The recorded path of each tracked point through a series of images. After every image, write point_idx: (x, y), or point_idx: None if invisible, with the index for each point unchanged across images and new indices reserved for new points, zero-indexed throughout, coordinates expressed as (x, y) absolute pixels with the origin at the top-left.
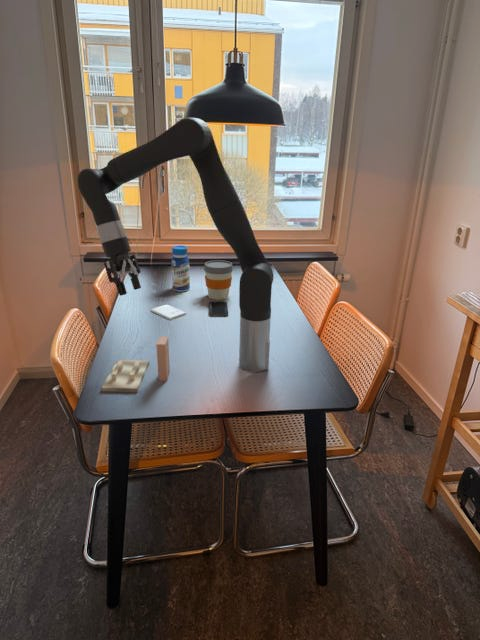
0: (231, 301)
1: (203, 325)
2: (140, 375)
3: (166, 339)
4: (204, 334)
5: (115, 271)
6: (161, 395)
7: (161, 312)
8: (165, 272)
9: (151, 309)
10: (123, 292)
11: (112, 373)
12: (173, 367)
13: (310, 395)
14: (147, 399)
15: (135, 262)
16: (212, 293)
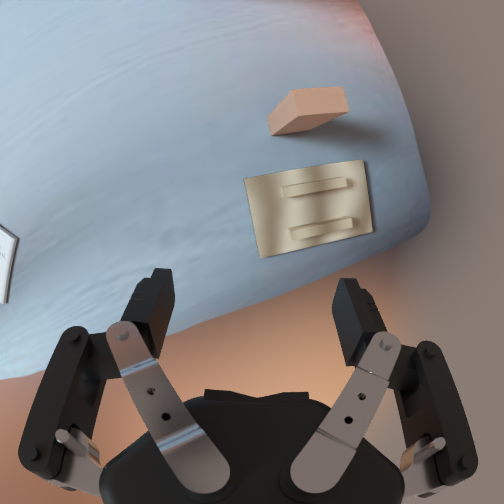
0: None
1: (20, 144)
2: (315, 171)
3: (311, 89)
4: (59, 116)
5: (443, 397)
6: (356, 110)
7: (3, 274)
8: None
9: (3, 303)
10: (361, 290)
11: (349, 226)
12: (243, 116)
13: None
14: (373, 133)
15: (63, 409)
16: None
